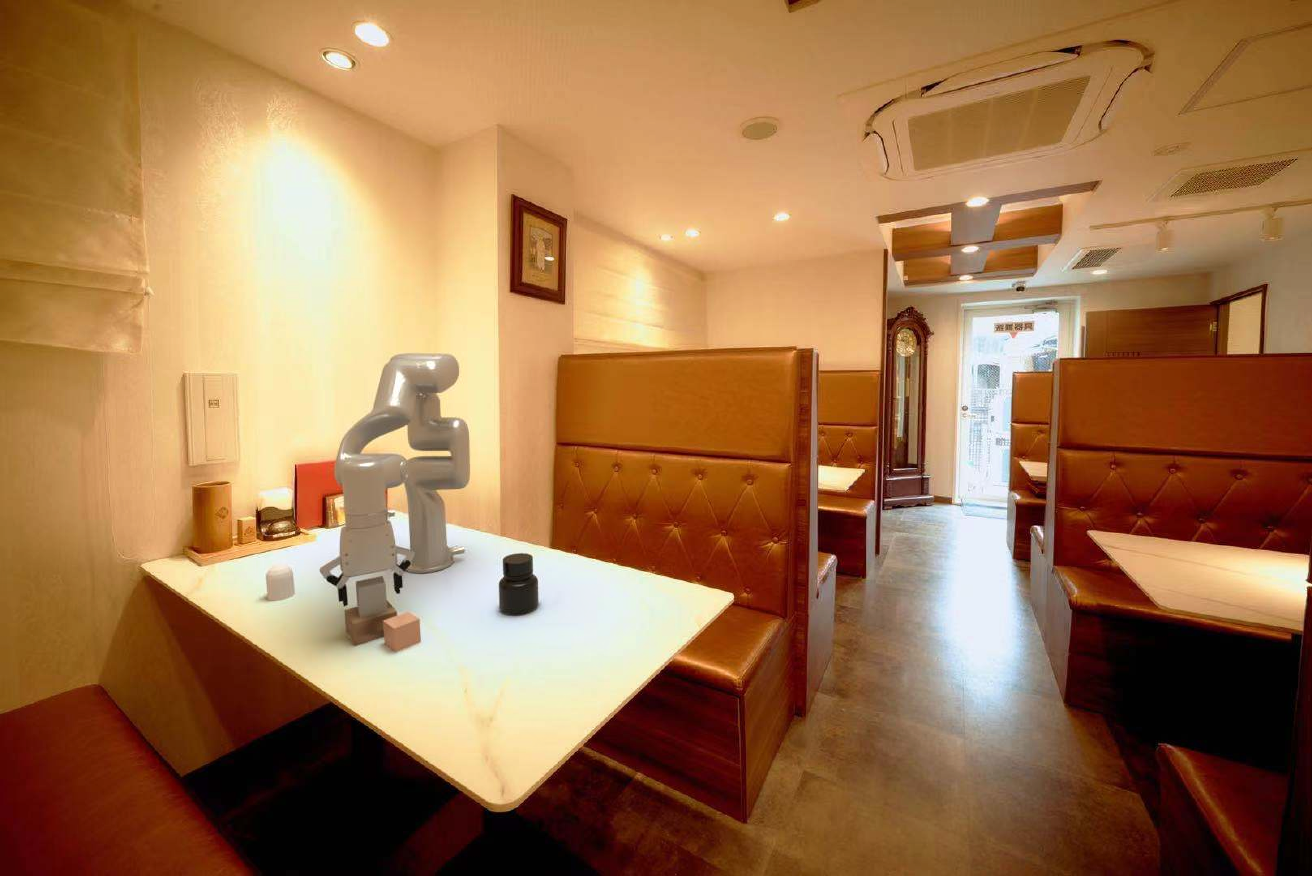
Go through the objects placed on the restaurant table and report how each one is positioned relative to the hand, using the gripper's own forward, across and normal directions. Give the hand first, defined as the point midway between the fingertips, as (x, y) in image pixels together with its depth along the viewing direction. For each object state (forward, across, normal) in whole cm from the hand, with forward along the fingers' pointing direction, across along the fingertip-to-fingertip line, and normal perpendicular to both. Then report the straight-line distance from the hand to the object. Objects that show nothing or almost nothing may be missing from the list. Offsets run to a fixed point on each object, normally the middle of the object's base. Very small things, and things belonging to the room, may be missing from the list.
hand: (371, 597), depth 104 cm
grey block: (+3, 0, 0) cm, 3 cm away
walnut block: (+8, 0, 0) cm, 8 cm away
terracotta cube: (+7, -4, +9) cm, 12 cm away
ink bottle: (+7, -29, +8) cm, 31 cm away
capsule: (+7, +16, -32) cm, 37 cm away
